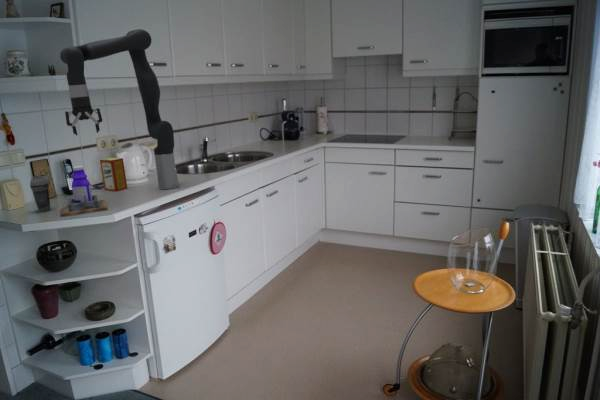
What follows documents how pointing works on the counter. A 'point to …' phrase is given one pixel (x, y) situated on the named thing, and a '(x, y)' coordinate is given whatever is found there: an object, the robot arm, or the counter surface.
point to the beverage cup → (41, 192)
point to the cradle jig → (83, 207)
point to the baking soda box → (113, 174)
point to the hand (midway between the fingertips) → (87, 133)
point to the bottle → (81, 186)
